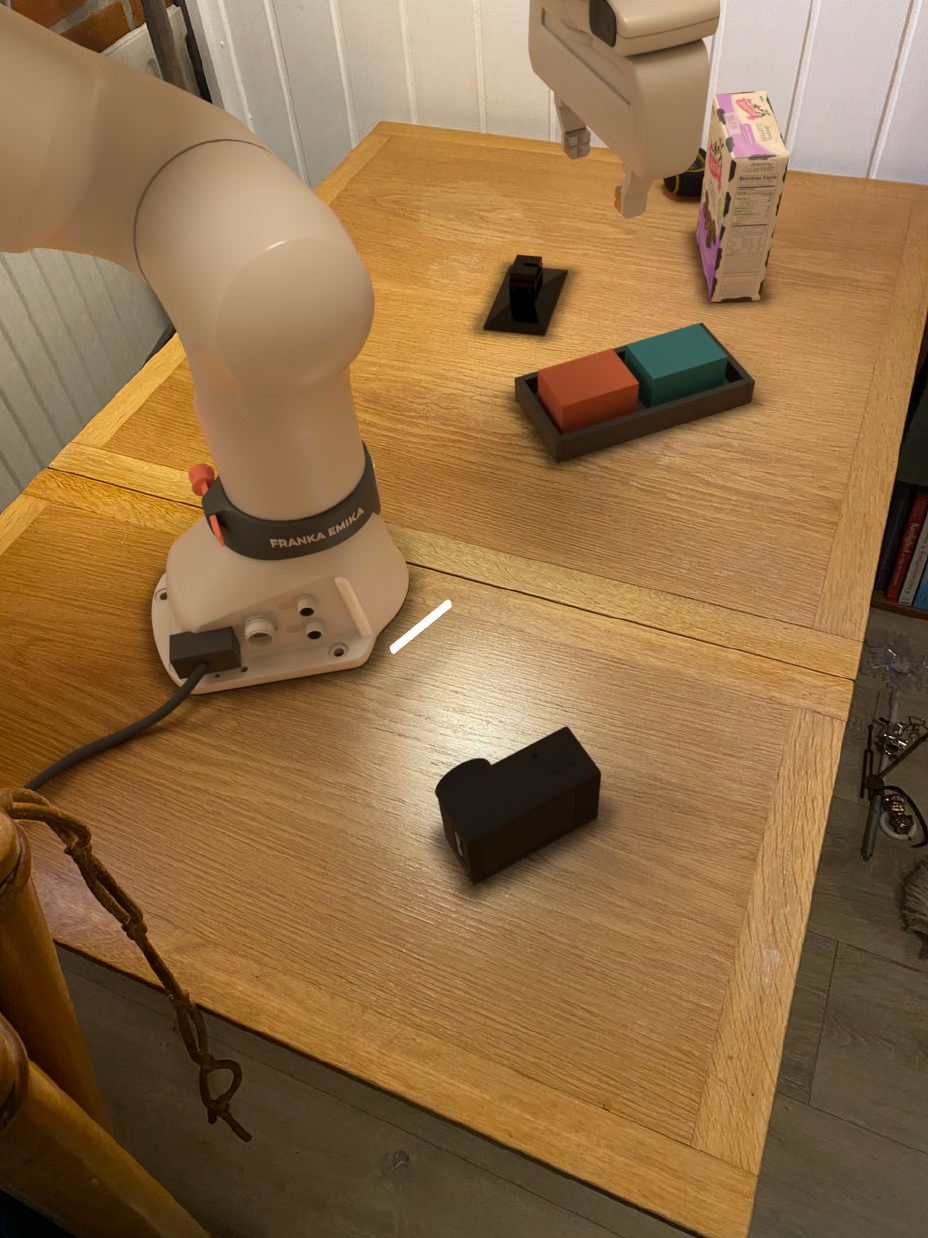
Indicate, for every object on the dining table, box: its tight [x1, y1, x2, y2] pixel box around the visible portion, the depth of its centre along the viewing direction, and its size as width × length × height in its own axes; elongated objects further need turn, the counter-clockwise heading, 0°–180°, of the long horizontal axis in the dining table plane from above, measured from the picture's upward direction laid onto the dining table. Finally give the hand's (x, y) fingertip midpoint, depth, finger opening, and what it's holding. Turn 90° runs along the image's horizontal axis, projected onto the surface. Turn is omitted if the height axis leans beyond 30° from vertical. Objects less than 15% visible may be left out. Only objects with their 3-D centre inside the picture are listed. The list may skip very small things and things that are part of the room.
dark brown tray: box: [513, 322, 756, 464], centre depth 96 cm, size 21×11×3 cm, turn 110°
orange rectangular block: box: [537, 348, 639, 436], centre depth 94 cm, size 8×6×4 cm
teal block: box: [624, 322, 728, 408], centre depth 95 cm, size 8×6×4 cm
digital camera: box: [434, 725, 602, 887], centre depth 67 cm, size 10×5×7 cm, turn 119°
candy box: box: [695, 89, 791, 303], centre depth 103 cm, size 14×6×16 cm, turn 178°
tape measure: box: [662, 147, 707, 199], centre depth 119 cm, size 7×7×4 cm
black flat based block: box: [481, 254, 569, 337], centre depth 107 cm, size 12×7×5 cm, turn 164°
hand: (601, 182), depth 71 cm, fingers open, 8 cm apart
